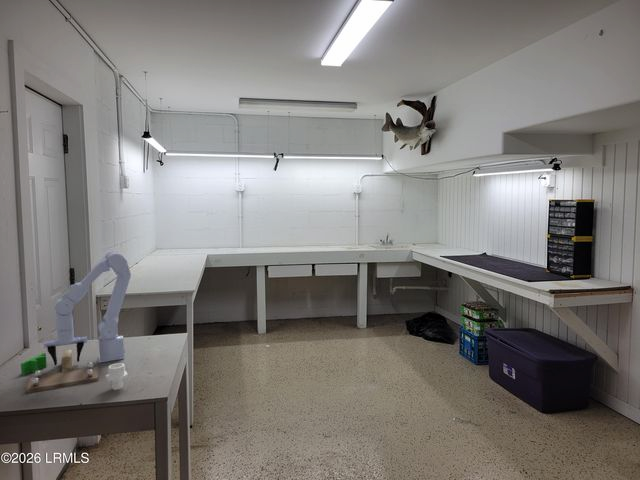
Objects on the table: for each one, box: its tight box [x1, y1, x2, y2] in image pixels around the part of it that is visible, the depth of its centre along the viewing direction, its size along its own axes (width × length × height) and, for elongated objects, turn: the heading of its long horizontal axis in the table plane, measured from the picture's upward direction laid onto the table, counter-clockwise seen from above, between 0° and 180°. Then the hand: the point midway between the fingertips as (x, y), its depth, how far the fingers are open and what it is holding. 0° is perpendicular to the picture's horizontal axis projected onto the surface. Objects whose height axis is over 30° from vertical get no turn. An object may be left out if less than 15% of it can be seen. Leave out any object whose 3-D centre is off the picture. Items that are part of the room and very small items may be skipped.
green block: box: [20, 352, 48, 376], centre depth 169 cm, size 11×4×5 cm, turn 173°
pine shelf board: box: [61, 349, 73, 372], centre depth 172 cm, size 3×12×5 cm, turn 27°
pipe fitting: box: [105, 362, 129, 391], centre depth 152 cm, size 6×7×8 cm
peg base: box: [25, 361, 100, 394], centre depth 158 cm, size 22×12×4 cm, turn 117°
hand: (67, 362), depth 172 cm, fingers open, 7 cm apart
